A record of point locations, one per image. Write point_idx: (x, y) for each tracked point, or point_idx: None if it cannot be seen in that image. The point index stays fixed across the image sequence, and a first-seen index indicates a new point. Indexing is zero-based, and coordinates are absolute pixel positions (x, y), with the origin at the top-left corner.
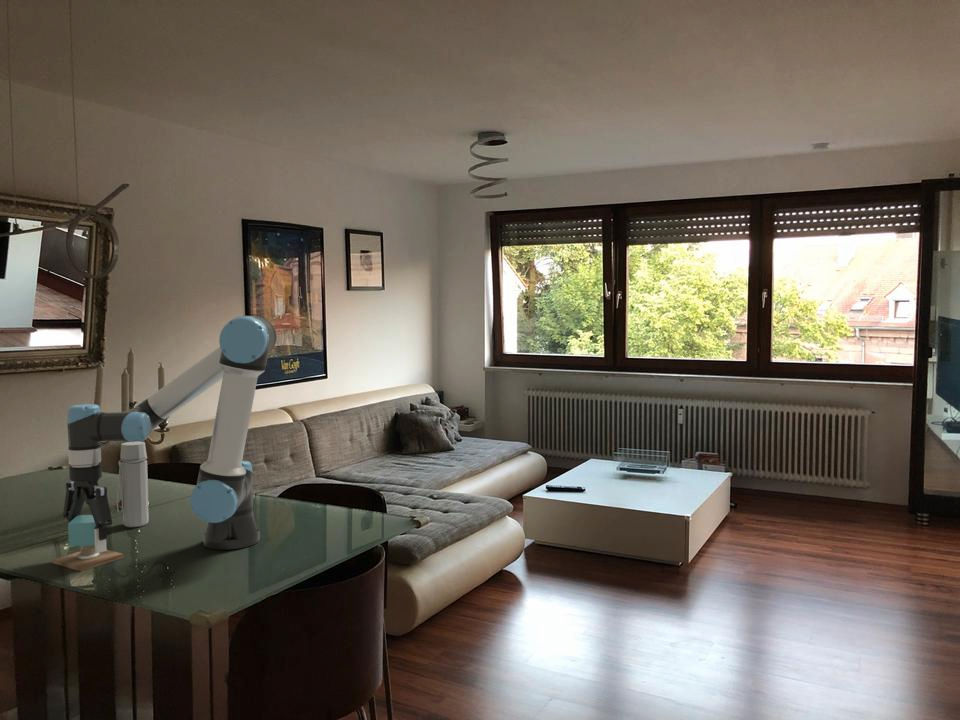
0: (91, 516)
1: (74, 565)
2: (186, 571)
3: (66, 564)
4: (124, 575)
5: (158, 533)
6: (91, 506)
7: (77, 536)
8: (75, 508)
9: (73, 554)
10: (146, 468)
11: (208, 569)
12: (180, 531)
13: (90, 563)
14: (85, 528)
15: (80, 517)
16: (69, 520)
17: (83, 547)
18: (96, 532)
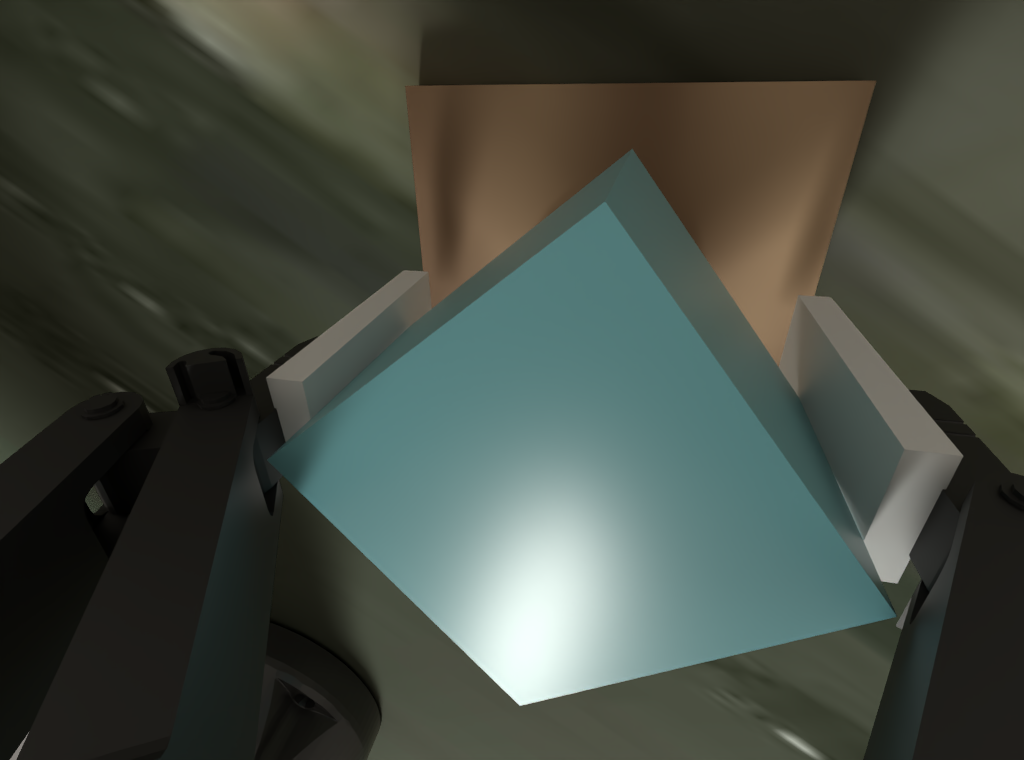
0: (608, 621)
1: (499, 90)
2: (28, 391)
3: (619, 84)
4: (136, 203)
5: (654, 723)
6: (77, 694)
7: (527, 241)
8: (908, 721)
9: (778, 281)
10: None
11: (9, 442)
12: (579, 750)
13: (436, 198)
14: (410, 340)
15: (730, 551)
16: (988, 484)
17: None
18: (296, 356)
